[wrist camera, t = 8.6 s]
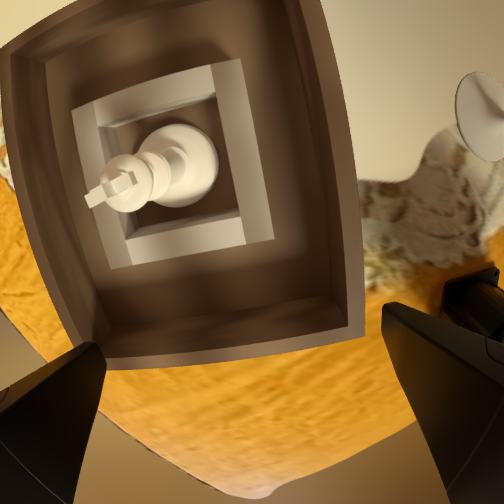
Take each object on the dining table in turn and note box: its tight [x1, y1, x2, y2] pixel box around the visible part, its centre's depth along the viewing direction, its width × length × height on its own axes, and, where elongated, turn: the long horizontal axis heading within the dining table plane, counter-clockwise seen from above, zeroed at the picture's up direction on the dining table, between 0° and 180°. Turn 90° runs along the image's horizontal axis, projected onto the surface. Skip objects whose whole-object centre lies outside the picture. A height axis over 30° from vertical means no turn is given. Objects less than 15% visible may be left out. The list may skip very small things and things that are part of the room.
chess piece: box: [84, 124, 219, 212], centre depth 12 cm, size 5×5×10 cm
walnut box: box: [0, 0, 365, 370], centre depth 16 cm, size 18×22×5 cm
